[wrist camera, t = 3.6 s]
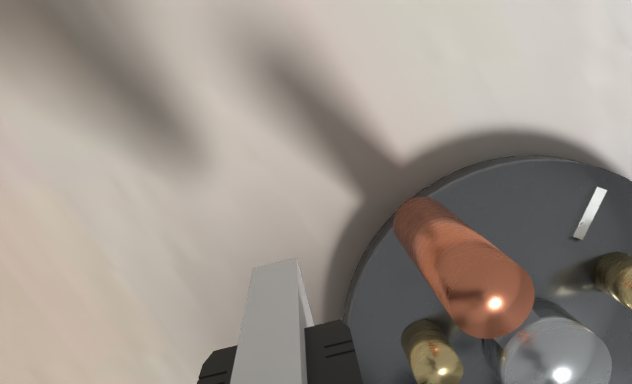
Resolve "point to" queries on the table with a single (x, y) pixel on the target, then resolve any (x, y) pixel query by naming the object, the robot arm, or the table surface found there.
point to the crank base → (518, 244)
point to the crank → (498, 302)
